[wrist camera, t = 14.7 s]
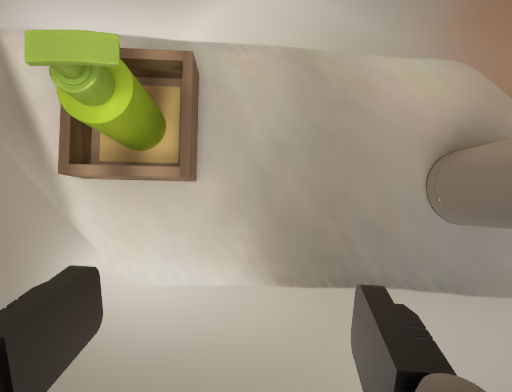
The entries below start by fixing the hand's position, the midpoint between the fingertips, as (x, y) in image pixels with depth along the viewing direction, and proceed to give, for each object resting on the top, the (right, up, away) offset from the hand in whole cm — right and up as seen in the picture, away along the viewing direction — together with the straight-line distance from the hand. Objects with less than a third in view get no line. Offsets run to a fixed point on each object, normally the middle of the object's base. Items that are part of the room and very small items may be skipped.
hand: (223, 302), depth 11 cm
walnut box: (-13, +12, +30) cm, 35 cm away
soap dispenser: (-12, +11, +30) cm, 34 cm away
